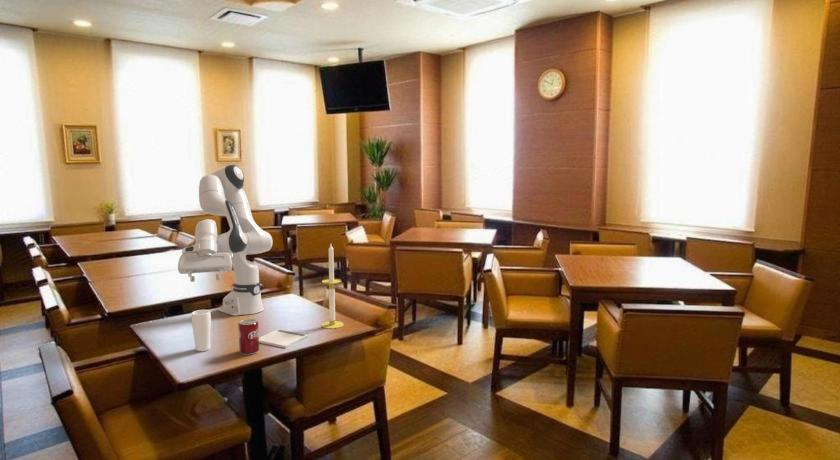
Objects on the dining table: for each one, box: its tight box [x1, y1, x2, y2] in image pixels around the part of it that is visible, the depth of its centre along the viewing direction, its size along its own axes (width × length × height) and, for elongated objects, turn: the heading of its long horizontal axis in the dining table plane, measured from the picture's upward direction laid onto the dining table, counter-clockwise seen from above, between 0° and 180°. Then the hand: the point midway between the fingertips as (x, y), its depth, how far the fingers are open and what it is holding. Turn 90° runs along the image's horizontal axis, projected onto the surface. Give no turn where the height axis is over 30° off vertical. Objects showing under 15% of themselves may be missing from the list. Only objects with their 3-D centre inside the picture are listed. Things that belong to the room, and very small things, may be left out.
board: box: [259, 328, 309, 349], centre depth 200 cm, size 16×14×1 cm
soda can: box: [237, 318, 260, 356], centre depth 186 cm, size 7×7×12 cm
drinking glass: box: [191, 309, 212, 352], centre depth 188 cm, size 7×7×15 cm
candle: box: [320, 243, 345, 330], centre depth 216 cm, size 10×10×38 cm
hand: (205, 280), depth 195 cm, fingers open, 8 cm apart
